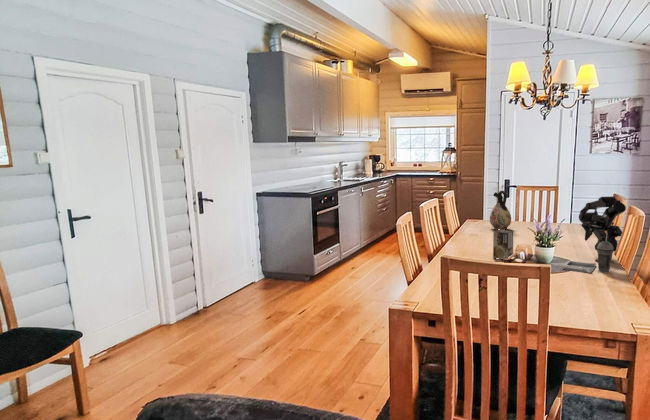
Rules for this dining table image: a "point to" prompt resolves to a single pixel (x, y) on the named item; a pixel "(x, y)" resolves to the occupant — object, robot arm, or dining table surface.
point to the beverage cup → (604, 255)
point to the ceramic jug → (500, 212)
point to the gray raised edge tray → (582, 266)
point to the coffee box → (502, 244)
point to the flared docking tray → (578, 267)
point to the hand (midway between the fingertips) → (593, 241)
